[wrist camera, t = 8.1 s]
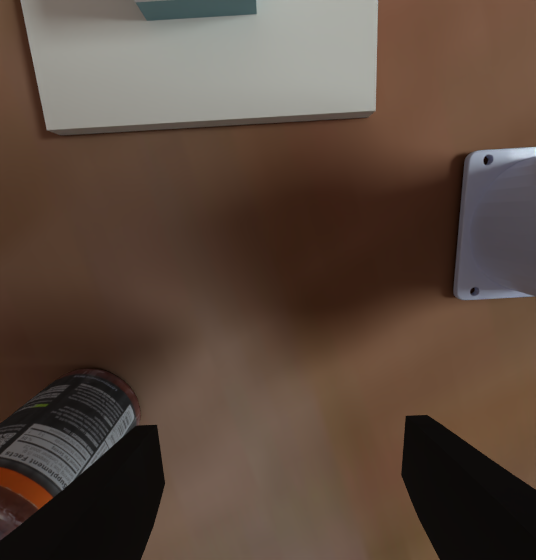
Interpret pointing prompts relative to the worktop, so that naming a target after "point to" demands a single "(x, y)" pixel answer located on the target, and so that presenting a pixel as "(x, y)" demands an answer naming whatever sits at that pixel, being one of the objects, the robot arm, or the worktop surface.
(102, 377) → the supplement bottle
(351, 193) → the worktop surface
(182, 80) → the pin board
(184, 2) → the sleeve
